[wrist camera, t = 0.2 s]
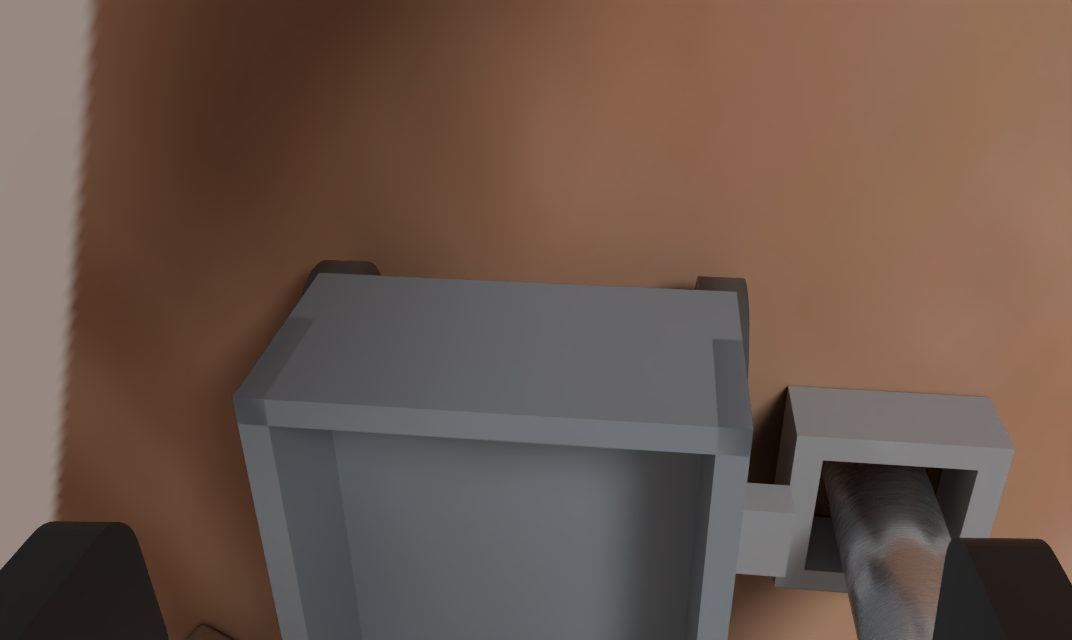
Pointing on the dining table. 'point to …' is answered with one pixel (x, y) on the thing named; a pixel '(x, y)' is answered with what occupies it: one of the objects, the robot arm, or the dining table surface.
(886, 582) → the pin
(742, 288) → the grey tray with sleeve
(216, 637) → the brown wooden stand
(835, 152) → the dining table surface
